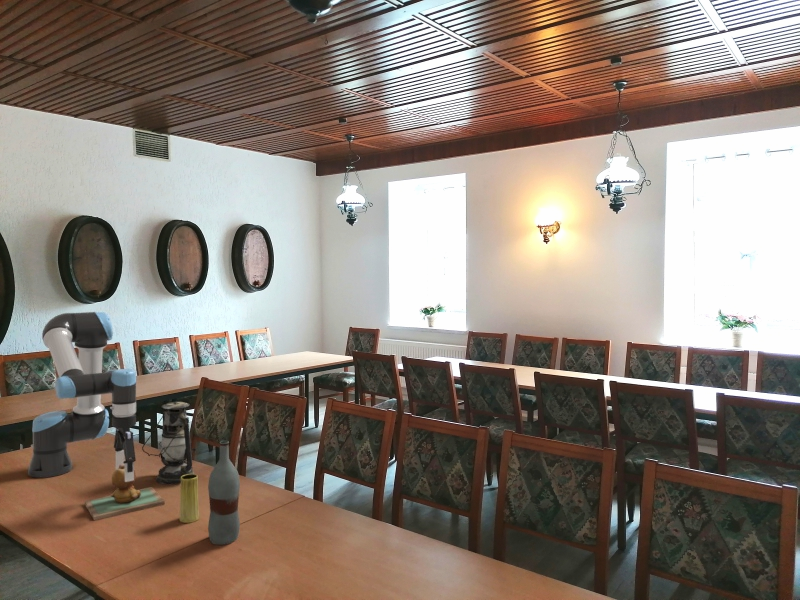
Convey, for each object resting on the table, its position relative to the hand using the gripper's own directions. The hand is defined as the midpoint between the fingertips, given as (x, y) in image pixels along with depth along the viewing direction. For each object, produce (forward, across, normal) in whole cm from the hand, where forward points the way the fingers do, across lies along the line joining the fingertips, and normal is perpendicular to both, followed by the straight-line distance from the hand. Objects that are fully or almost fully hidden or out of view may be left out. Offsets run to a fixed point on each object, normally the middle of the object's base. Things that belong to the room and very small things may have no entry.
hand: (124, 475), depth 198 cm
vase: (+10, +25, +14) cm, 31 cm away
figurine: (+9, 0, 0) cm, 9 cm away
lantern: (+11, -15, +20) cm, 27 cm away
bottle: (+10, +45, +18) cm, 50 cm away
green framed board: (+10, 0, 0) cm, 10 cm away
